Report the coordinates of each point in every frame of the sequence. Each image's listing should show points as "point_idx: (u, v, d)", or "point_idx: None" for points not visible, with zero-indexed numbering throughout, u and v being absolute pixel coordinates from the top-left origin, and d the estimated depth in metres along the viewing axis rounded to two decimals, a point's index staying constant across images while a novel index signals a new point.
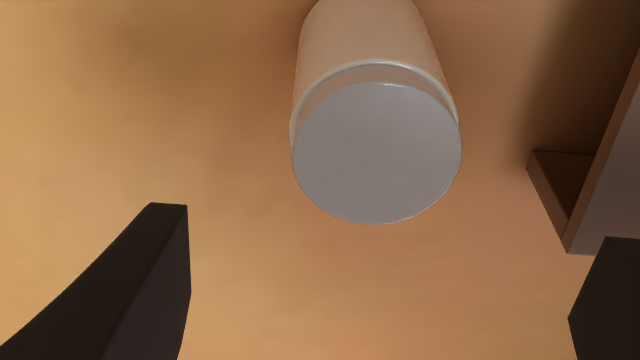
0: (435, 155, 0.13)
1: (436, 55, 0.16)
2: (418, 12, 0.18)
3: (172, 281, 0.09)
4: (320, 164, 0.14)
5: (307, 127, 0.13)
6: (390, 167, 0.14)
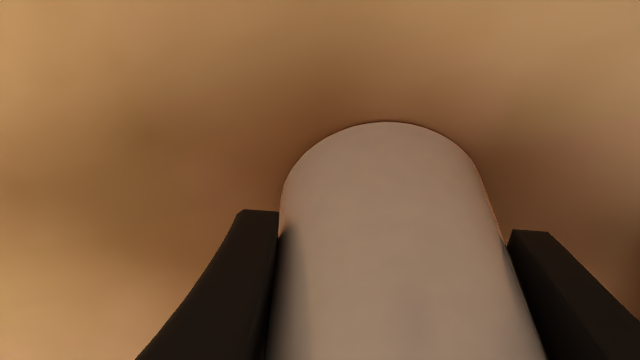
0: None
1: (518, 281, 0.09)
2: (474, 170, 0.11)
3: (271, 288, 0.09)
4: None
5: None
6: None
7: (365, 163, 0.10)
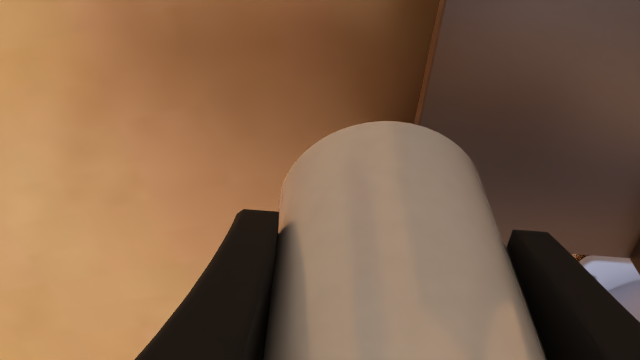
0: None
1: (517, 280, 0.09)
2: (473, 170, 0.11)
3: None
4: None
5: None
6: None
7: (364, 161, 0.10)
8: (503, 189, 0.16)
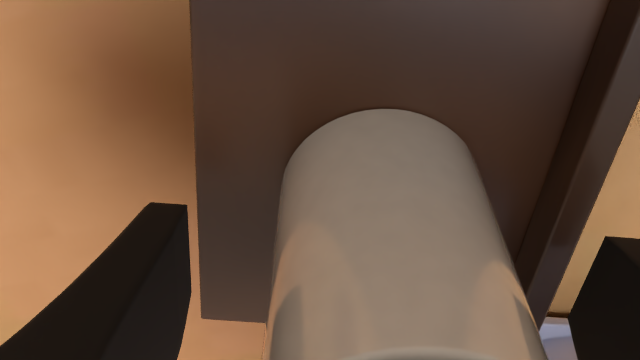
0: None
1: (511, 260, 0.09)
2: (469, 156, 0.11)
3: (172, 281, 0.09)
4: None
5: None
6: None
7: (363, 146, 0.10)
8: None
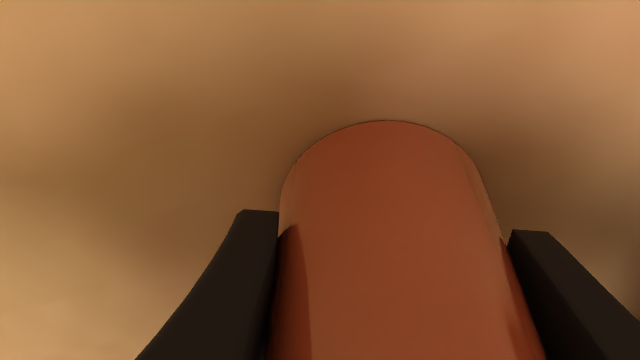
0: None
1: None
2: None
3: (271, 288, 0.09)
4: None
5: None
6: None
7: None
8: None
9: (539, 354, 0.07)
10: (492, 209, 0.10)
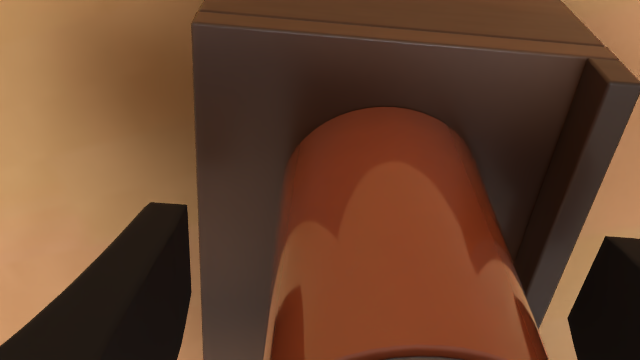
0: None
1: None
2: None
3: (172, 281, 0.09)
4: None
5: None
6: None
7: None
8: None
9: (529, 323, 0.08)
10: (486, 191, 0.11)
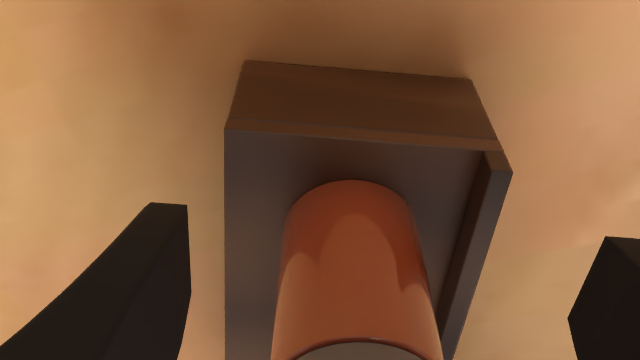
0: None
1: None
2: None
3: (172, 281, 0.09)
4: None
5: None
6: None
7: None
8: None
9: (427, 324, 0.13)
10: (417, 237, 0.16)
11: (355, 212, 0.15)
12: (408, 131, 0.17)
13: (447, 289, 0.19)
